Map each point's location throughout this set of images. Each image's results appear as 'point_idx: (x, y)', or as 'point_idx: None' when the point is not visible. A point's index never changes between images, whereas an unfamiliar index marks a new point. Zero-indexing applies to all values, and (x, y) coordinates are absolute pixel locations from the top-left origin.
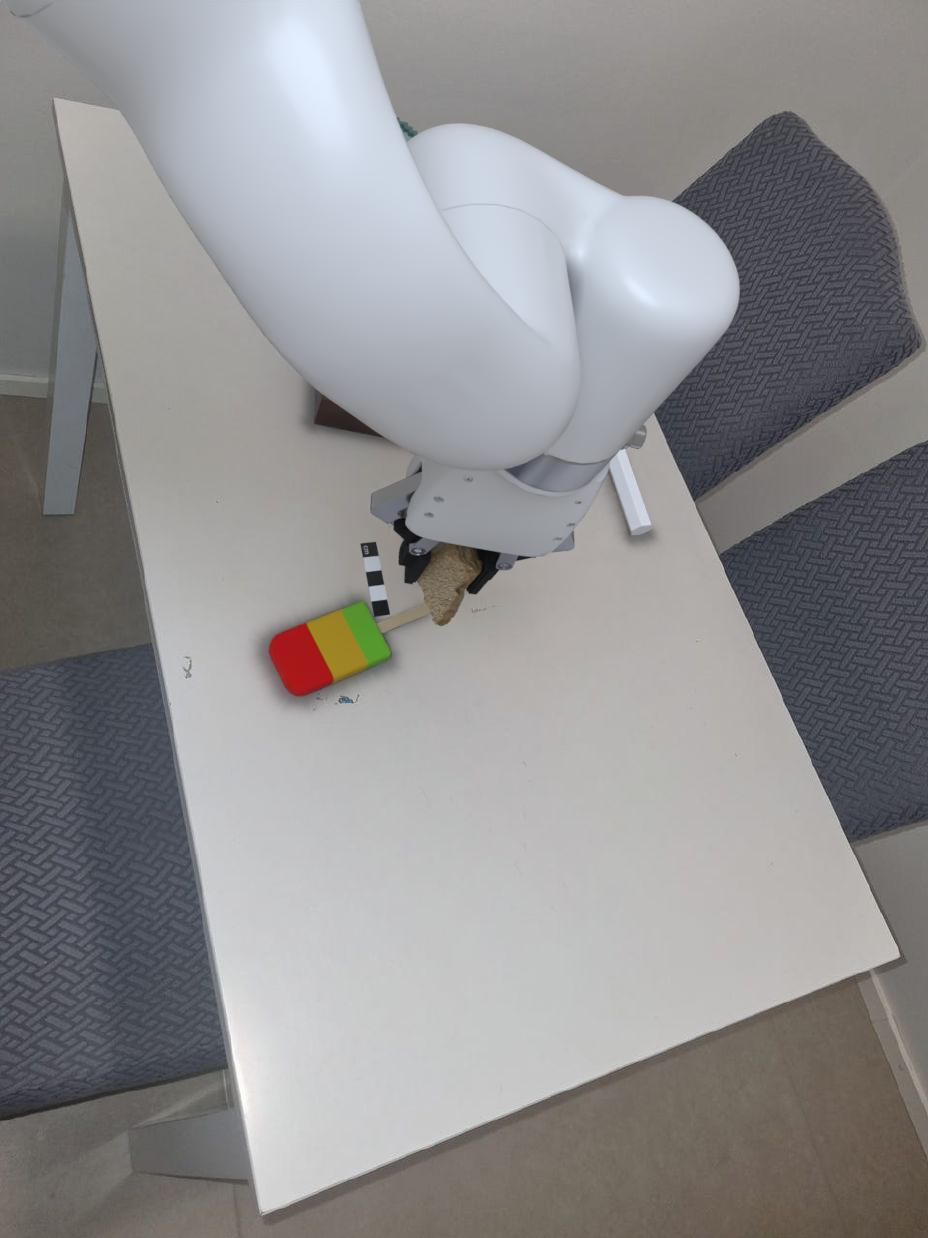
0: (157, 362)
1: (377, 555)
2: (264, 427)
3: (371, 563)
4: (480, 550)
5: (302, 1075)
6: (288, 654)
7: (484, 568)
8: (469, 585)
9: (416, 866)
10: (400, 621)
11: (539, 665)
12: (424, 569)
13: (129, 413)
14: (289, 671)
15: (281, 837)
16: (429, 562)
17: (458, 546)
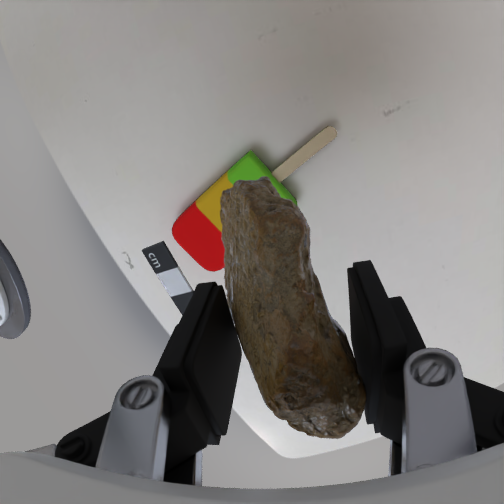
0: (20, 17)
1: (174, 268)
2: (100, 4)
3: (171, 283)
4: (365, 355)
5: (291, 437)
6: (190, 242)
7: (367, 422)
8: (353, 347)
9: None
10: (300, 159)
11: (461, 164)
12: (231, 404)
13: (15, 70)
14: (197, 259)
15: (244, 358)
16: (226, 431)
17: (287, 412)
